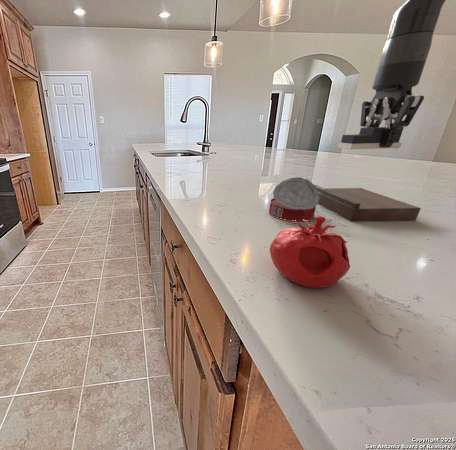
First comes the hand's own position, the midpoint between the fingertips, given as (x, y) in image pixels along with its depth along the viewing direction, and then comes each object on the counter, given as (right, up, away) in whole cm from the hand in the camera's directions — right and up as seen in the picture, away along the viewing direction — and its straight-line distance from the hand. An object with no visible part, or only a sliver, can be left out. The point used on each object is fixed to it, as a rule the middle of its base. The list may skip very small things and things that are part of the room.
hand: (376, 146), depth 58 cm
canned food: (-20, -17, +2) cm, 26 cm away
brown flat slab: (-2, -15, +4) cm, 15 cm away
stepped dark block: (-2, 0, 0) cm, 2 cm away
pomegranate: (-31, -27, -22) cm, 46 cm away
